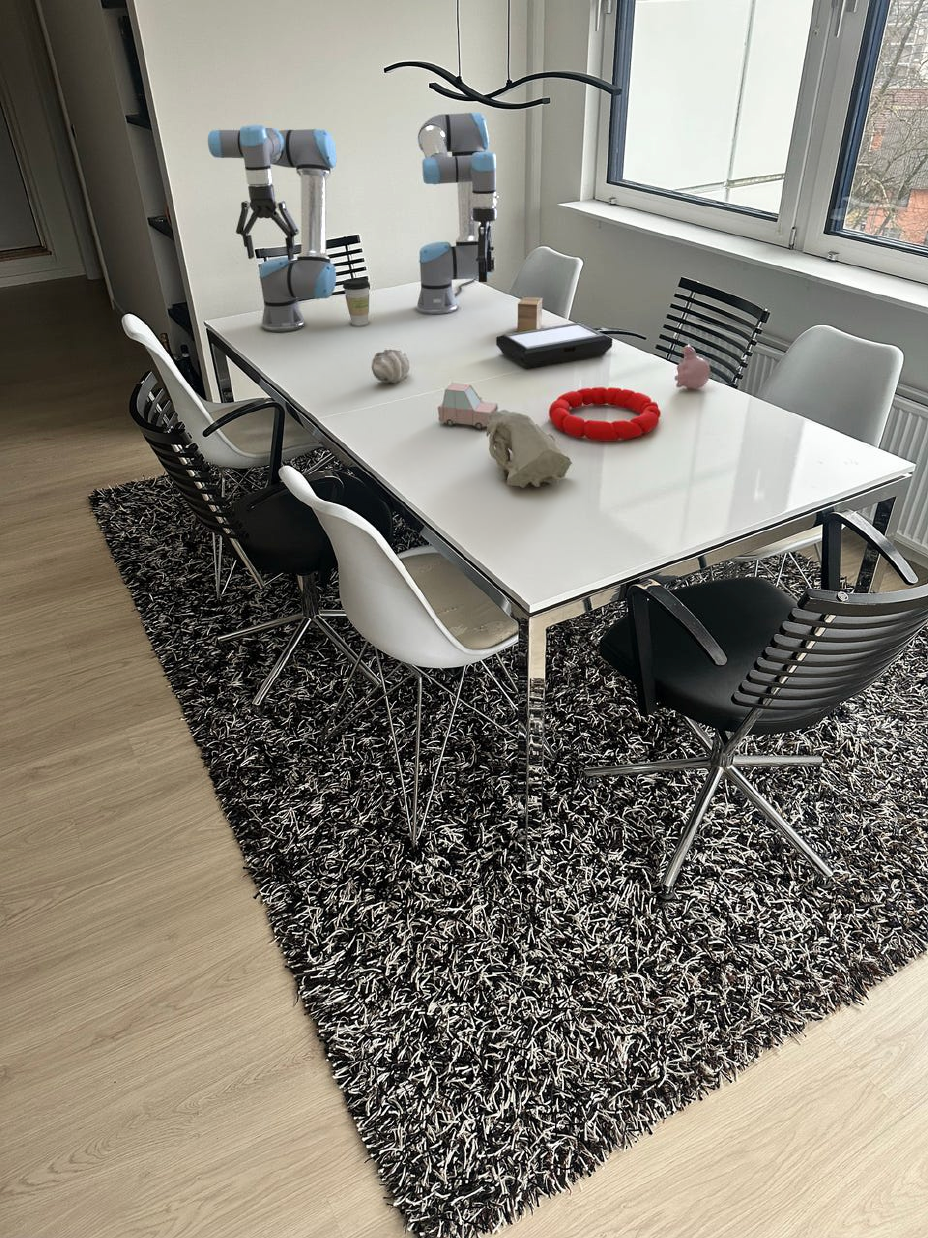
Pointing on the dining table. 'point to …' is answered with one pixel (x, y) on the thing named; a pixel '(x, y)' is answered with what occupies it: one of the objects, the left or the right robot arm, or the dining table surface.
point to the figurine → (692, 370)
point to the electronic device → (553, 344)
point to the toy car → (465, 406)
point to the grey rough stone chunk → (525, 450)
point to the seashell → (390, 366)
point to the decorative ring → (603, 428)
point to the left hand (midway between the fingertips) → (271, 258)
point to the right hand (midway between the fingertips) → (485, 276)
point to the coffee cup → (357, 300)
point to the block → (529, 314)
